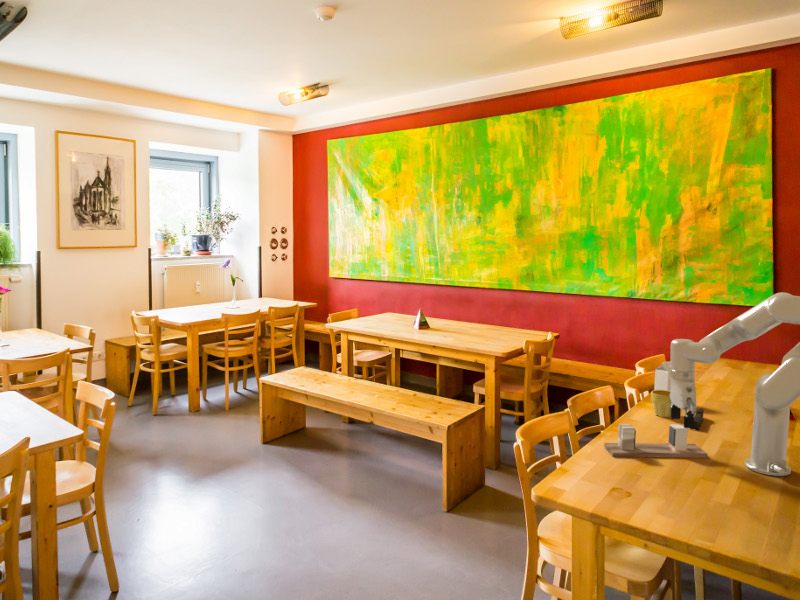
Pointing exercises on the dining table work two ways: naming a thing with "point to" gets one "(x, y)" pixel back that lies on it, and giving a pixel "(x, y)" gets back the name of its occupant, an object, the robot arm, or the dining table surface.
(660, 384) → the milk carton
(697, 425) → the hand tool
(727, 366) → the dining table surface
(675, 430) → the block
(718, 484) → the dining table surface
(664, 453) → the rail
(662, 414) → the plant pot
